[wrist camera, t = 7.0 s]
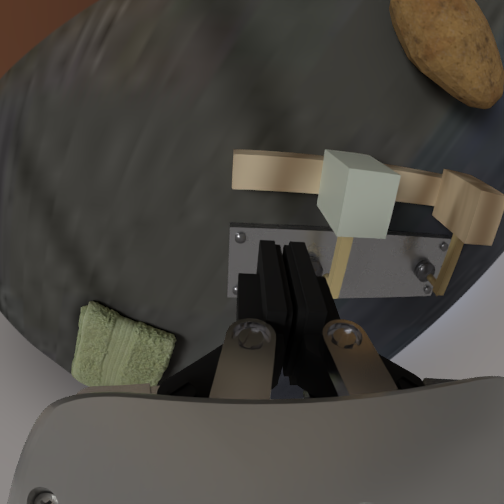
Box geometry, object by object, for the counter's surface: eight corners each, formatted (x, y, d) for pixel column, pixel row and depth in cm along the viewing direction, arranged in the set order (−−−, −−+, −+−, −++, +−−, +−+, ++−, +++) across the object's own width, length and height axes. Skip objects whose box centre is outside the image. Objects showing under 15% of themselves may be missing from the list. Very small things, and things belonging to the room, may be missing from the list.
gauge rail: (466, 170, 28) (513, 198, 21) (436, 267, 34) (469, 308, 27) (234, 137, 26) (234, 158, 19) (228, 263, 32) (228, 316, 25)
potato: (427, 121, 25) (478, 139, 19) (345, -2, 20) (384, -25, 13) (483, 79, 23) (535, 89, 16) (414, -35, 17) (461, -55, 10)
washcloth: (72, 369, 41) (66, 385, 38) (86, 290, 33) (76, 308, 31) (149, 399, 44) (146, 415, 42) (186, 331, 37) (183, 351, 34)
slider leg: (368, 154, 25) (400, 175, 20) (342, 277, 31) (361, 316, 26) (324, 149, 25) (349, 168, 20) (304, 276, 31) (317, 317, 26)
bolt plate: (447, 235, 32) (456, 243, 30) (427, 291, 36) (434, 300, 34) (230, 222, 30) (229, 231, 28) (227, 291, 34) (227, 303, 32)
